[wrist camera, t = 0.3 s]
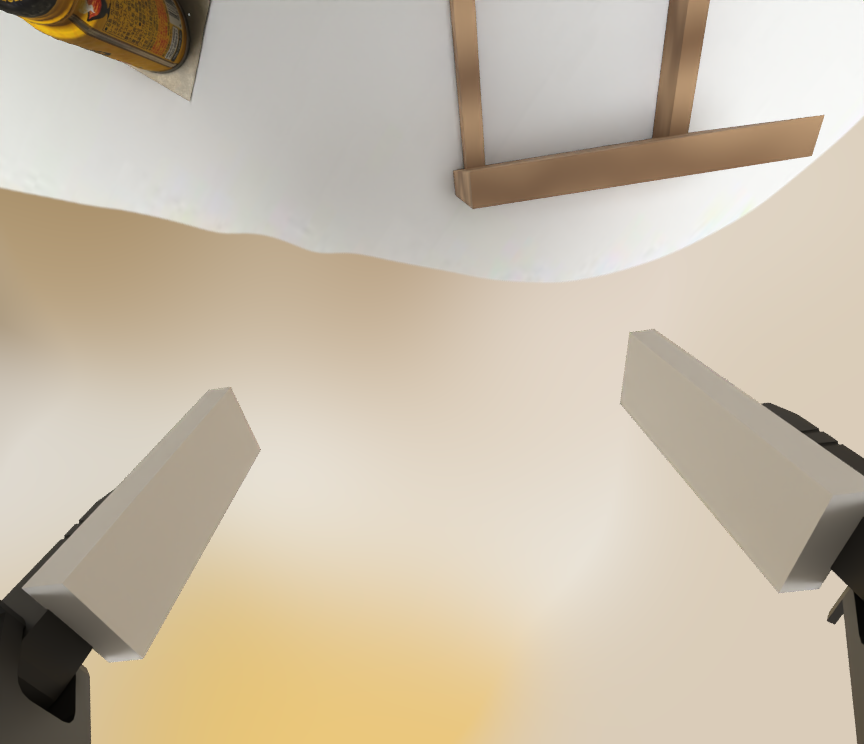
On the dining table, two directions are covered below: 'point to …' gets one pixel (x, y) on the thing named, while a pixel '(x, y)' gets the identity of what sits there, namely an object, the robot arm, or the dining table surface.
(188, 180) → the dining table surface
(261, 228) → the dining table surface
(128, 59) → the condiment
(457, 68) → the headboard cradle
